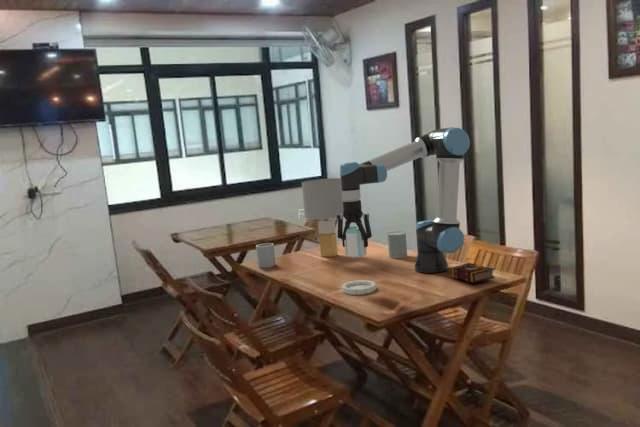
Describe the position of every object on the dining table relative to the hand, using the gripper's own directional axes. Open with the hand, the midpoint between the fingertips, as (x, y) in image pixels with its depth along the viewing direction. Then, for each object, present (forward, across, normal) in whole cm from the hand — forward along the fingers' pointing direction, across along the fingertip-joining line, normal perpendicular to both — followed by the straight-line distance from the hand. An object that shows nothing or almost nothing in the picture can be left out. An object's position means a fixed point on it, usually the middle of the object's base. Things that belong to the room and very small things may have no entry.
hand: (356, 254), depth 231 cm
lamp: (+15, +40, -58) cm, 72 cm away
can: (+1, 0, 0) cm, 1 cm away
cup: (+15, +64, -33) cm, 74 cm away
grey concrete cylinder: (+15, +2, -61) cm, 63 cm away
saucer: (+15, 0, 0) cm, 15 cm away
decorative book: (+16, -42, -25) cm, 51 cm away
